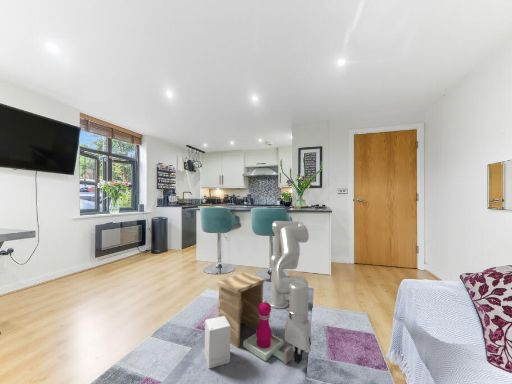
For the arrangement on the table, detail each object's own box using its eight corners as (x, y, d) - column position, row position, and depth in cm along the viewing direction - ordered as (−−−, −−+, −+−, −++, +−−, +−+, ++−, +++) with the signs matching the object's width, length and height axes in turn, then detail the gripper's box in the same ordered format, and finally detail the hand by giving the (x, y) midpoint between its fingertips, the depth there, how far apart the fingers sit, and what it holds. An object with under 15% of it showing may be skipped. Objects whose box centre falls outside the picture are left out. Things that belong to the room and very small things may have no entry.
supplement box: (230, 363, 92) (231, 326, 92) (208, 369, 88) (209, 330, 88) (224, 349, 100) (225, 315, 100) (204, 354, 96) (204, 319, 97)
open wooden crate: (244, 320, 124) (245, 272, 124) (263, 330, 114) (264, 279, 115) (216, 335, 109) (217, 281, 110) (236, 349, 100) (237, 290, 101)
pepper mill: (259, 351, 97) (260, 304, 98) (253, 341, 104) (254, 297, 104) (274, 347, 100) (275, 301, 100) (267, 337, 107) (268, 295, 107)
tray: (261, 334, 111) (262, 323, 111) (297, 353, 98) (297, 342, 98) (243, 346, 101) (243, 335, 101) (279, 370, 88) (280, 357, 88)
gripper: (277, 311, 93) (277, 357, 92) (310, 326, 83) (310, 377, 82) (288, 305, 98) (287, 348, 98) (320, 318, 88) (319, 365, 88)
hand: (297, 361), depth 90 cm, fingers closed
